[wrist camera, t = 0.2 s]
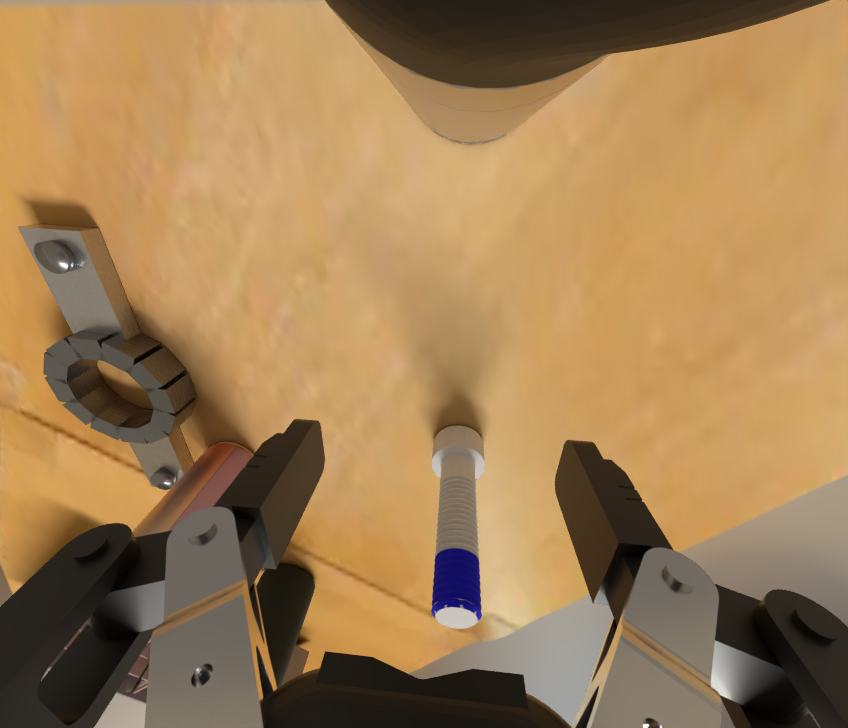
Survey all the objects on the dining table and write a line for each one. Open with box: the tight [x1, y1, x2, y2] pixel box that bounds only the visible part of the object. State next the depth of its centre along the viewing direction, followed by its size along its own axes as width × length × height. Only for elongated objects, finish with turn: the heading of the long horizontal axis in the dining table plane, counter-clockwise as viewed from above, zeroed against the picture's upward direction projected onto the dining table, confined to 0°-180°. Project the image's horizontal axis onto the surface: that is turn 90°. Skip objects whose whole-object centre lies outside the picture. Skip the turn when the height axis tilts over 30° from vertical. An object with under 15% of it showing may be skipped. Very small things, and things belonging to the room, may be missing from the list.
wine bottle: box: [256, 565, 315, 688], centre depth 38 cm, size 8×8×30 cm
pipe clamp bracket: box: [18, 224, 196, 490], centre depth 33 cm, size 29×12×3 cm, turn 177°
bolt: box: [431, 425, 485, 629], centre depth 28 cm, size 16×5×5 cm
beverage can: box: [132, 442, 254, 537], centre depth 32 cm, size 6×6×15 cm
